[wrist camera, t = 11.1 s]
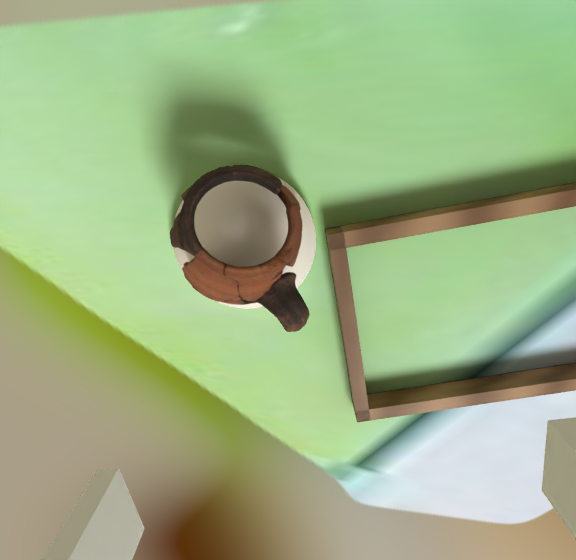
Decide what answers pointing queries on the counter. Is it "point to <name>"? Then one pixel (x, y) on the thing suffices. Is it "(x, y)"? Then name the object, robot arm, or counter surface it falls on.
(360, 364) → the walnut frame
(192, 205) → the brown hollow round piece
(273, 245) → the white dome
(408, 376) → the counter surface
